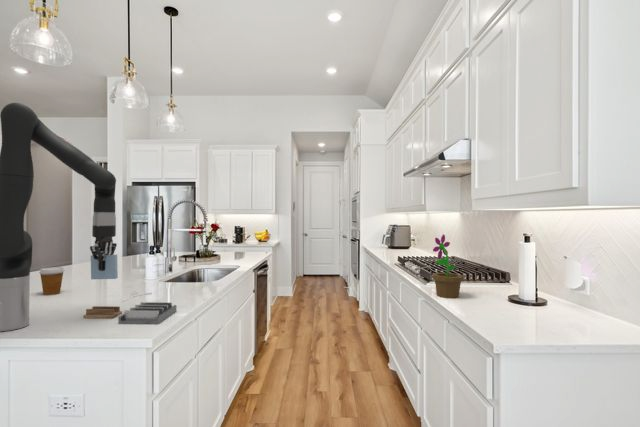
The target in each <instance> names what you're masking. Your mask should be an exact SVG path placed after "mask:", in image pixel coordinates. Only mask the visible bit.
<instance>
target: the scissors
mask: <svg viewBox="0 0 640 427" xmlns="http://www.w3.org/2000/svg"><path fill="white" fill-rule="evenodd" d="M137 294H138V295H137ZM148 295H152V292H150V293H149V292H144V293H143V294H139V292H137V291H132V292H131V293H130V296H128V297H126V298H127V299H126V298H122V299H118V300H116V302H119V300H120V301H121V303H122V302H125V301H128V300H130V299H132V298H135V297H141V296H148Z"/></svg>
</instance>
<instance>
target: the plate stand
mask: <svg viewBox="0 0 640 427" xmlns="http://www.w3.org/2000/svg"><path fill="white" fill-rule="evenodd" d="M121 315H123V311H122V310H121V306H113V305H111V306H109V305H107V306H105V305H102V306H101V305H100V306H92V307H91V308H86V309H85V314H83V315H82V317H83V319H115V318H118V317H119V316H121Z"/></svg>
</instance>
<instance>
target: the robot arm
mask: <svg viewBox="0 0 640 427" xmlns="http://www.w3.org/2000/svg"><path fill="white" fill-rule="evenodd" d="M0 128H1V147H0V148H1V149H0V332H5V331H6V332H7V331H14V330H18V329H22V328H25V327H27V326H29V325H30V283H31V282H30V278H31V277H30V274H31V273H30V271H31V267H32V262H33V238H32V236H31V235H30V233H28V232H27V231H26V230H25V225H24V224H25V214H26V212H27V209H28V206H29V203H30V201H31V198H32V194H33V189H34V178H35V175H34V172H35V171H34V163H33V156H32V151H31V150H32V148H31V147H32V146H31V145H32V144H31V143H32V142H34V143H36V144H38V145H39V146H40V147H42V148H44V150H46V151H47V152H49V153H50V154H52V156H54V157H55V158H56V159H58V160H59V161H60V162H62V163H63V165H66V166H67V167H69V168H70V169H71V170H73V171H74V172H75V173H76V174H79V175H80V176H82V177H84V178H85V179H87V180H88V181H89V182H90V183H91V184H93V185H94V200H93V214H92V224H91V225H92V226H91V227H92V232H91V233H92V238H95V240H94V245H90V246H89V249H90V252H91V254H92V255H93V257H94V259H95V260H98V261H99V267H98V268H99V271H104V270H105V260H106V255H115V251H116V248H117V244H118V243H116V242H115V243H114V241H113V238H115V237H116V234H117V231H116V230H117V229H116V228H117V216H116V199H115V196H116V184H117V179H116V176H115V175H114V174H113V173H112V172H111V171H109V170H108V169H106V168H105V167H103V166H102V165H100V164H99V163H97V162H95V161H94V160H93V159H92V158H91V157H89V155H87V154H85V153H84V152H83V151H82V150H80V149H79V148H77V147H76V146H74V145H73V144H71V143H70V142H68V141H66V140H65V139H64V138H62V137H61V136H59V135H57V134H56V133H54V132H53V131H52V130H51V129H50V128H49V127H48V126H47V125H45V124H44V123H43V121H41V120H40V118H38V115H37V114H36V112H34V110H33V109H32V108H30V107H29V106H28V105H25V104H24V103H21V102H11V103H8V104H6V105H4V106H3V108H2V109H1V111H0ZM102 255H103V257H102Z"/></svg>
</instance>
